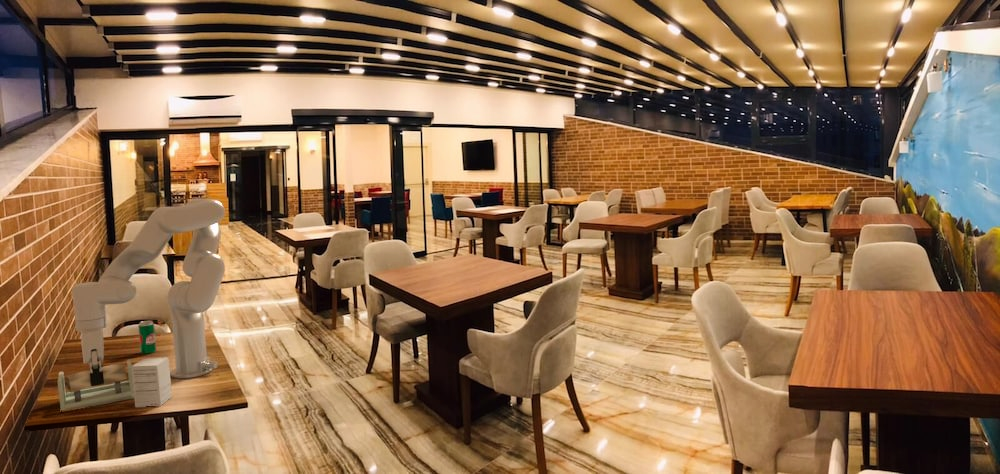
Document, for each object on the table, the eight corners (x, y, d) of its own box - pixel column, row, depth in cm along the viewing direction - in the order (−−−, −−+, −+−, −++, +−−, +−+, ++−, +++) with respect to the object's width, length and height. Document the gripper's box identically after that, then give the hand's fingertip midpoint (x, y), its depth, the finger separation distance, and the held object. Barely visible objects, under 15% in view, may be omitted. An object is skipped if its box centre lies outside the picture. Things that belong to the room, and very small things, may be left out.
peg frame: (132, 385, 181) (130, 358, 180) (135, 397, 171) (132, 369, 170) (62, 399, 170) (59, 371, 169) (60, 413, 161) (57, 382, 160)
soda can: (149, 354, 213) (146, 323, 211) (137, 354, 214) (134, 323, 212) (159, 350, 218) (156, 320, 216) (148, 350, 219) (145, 320, 217)
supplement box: (147, 398, 171) (143, 357, 169) (173, 396, 172) (169, 356, 170) (134, 408, 164) (130, 366, 162) (160, 406, 164) (156, 364, 163)
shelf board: (122, 375, 177) (120, 362, 177) (126, 378, 174) (125, 366, 173) (67, 388, 167) (65, 375, 166) (71, 392, 164) (69, 379, 163)
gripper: (76, 320, 173) (82, 376, 175) (75, 332, 159) (81, 393, 161) (106, 316, 177) (111, 371, 179) (107, 327, 163) (113, 387, 166)
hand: (97, 381), depth 170 cm, fingers closed on shelf board, 5 cm apart
